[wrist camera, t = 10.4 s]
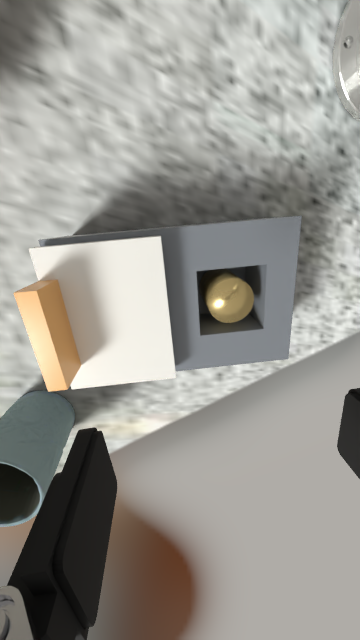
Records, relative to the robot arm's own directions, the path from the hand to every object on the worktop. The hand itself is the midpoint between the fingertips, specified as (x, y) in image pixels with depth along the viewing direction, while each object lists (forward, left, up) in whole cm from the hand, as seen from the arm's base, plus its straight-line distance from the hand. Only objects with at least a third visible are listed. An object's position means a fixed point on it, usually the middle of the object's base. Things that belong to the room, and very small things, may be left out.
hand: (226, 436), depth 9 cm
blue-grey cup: (+22, +17, -23) cm, 36 cm away
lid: (+7, 0, -14) cm, 16 cm away
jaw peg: (-4, 0, -21) cm, 21 cm away
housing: (+1, 0, -23) cm, 23 cm away
